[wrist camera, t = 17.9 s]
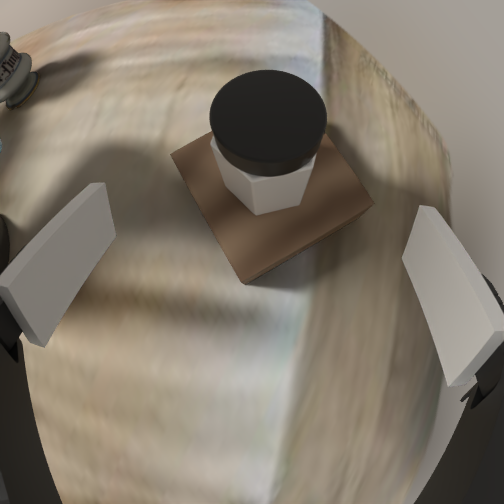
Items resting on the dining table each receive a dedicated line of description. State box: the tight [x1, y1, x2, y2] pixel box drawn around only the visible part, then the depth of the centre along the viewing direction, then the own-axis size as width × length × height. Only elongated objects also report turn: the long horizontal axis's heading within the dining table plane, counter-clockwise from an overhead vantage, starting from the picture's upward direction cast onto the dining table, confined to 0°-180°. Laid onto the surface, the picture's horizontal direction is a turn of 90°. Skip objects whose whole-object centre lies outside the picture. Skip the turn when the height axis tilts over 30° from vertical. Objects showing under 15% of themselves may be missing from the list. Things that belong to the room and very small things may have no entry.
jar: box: [210, 70, 327, 215], centre depth 25 cm, size 9×8×12 cm
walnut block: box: [170, 131, 374, 285], centre depth 34 cm, size 16×16×6 cm
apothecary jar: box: [0, 32, 40, 110], centre depth 34 cm, size 12×12×18 cm
